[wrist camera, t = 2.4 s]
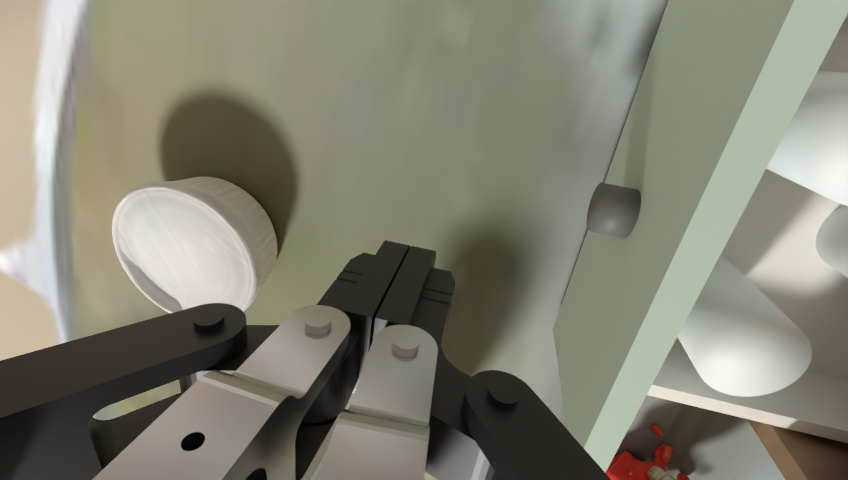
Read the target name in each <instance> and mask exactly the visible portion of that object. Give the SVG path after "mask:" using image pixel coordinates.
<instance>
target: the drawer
mask: <svg viewBox="0 0 848 480" xmlns="http://www.w3.org/2000/svg"><path fill="white" fill-rule="evenodd" d="M587 228H588V231H587V234H586V237H585V239H584V242H583V245H582V248H581V251H580V254H579V257H578V259H577V262H576V265H575V268H574V271H573V274H572V276H571V279H570V282H569V285H568V288H567V291H566V294H565V296H564V299H563V302H562V305H561V308H560V311H559V314H558V316H557V319H556V322H555V325H554V328H553V334H554V341H555V348H556V355H557V362H558V369H559V376H560V382H561V389H562V396H563V403H564V410H565V417H566V424H567V430H568V431H569V432H570V433H571V435H572V436H573V437H574V438H575V439H576V440H577V441H578V443H579V444H580V445H581V446H582V447H583V448H584V449H585V450H586V452H587V453H588V454H589V455H590V456H591V457H592V458H593V460H594V461H595V462H596V463H597V464H598V465H599V466H600V467H601V469H602V470H603V471H604V472H605V473H606V471H607V469H608V467H609V465H610V463H611V461H612V459H613V458H614V456H615V454H616V452H617V450H618V448H619V446H620V444H621V442H622V441H623V439H624V437H625V435H626V433H627V431H628V429H629V427H630V425H631V423H632V422H633V420H634V418H635V416H636V414H637V412H638V410H639V408H640V406H641V405H642V403H643V401H644V399H645V397H646V395H649V396H653V397H657V398H662V399H666V400H670V401H674V402H678V403H682V404H687V405H691V406H695V407H699V408H703V409H707V410H711V411H716V412H720V413H724V414H728V415H732V416H736V417H741V418H745V419H749V420H753V421H757V422H761V423H765V424H770V425H774V426H778V427H782V428H786V429H790V430H795V431H799V432H803V433H807V434H811V435H815V436H819V437H824V438H828V439H832V440H836V441H840V442H844V443H848V0H668V3H667V6H666V9H665V12H664V14H663V17H662V20H661V23H660V26H659V29H658V32H657V34H656V37H655V40H654V43H653V46H652V49H651V51H650V54H649V57H648V60H647V63H646V66H645V69H644V71H643V74H642V77H641V80H640V83H639V86H638V88H637V91H636V94H635V97H634V100H633V103H632V106H631V108H630V111H629V114H628V117H627V120H626V123H625V126H624V128H623V131H622V134H621V137H620V140H619V143H618V145H617V148H616V151H615V154H614V157H613V160H612V163H611V165H610V168H609V171H608V174H607V177H606V180H605V182H604V183H600V184H599V185H598V186H597V188H596V189H595V191H594V193H593V196H592V199H591V202H590V205H589V209H588V215H587Z"/></svg>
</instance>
